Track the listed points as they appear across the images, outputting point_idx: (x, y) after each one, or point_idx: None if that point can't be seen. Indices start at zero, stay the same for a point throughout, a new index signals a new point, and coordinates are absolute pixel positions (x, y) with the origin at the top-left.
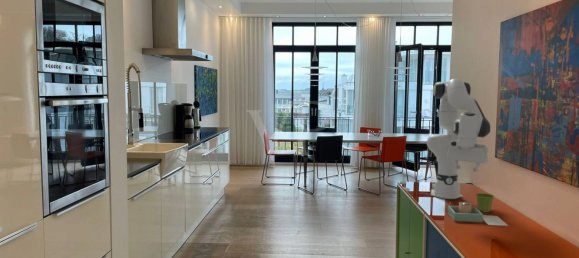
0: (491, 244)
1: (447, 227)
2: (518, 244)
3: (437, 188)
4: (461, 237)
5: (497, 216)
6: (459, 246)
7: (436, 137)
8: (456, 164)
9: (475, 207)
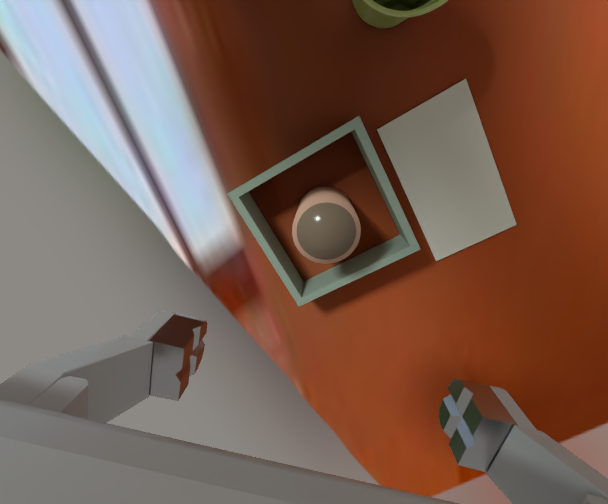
0: None
1: (306, 371)
2: (538, 400)
3: None
4: (370, 429)
5: (469, 89)
6: None
7: None
8: (126, 409)
9: (362, 129)
